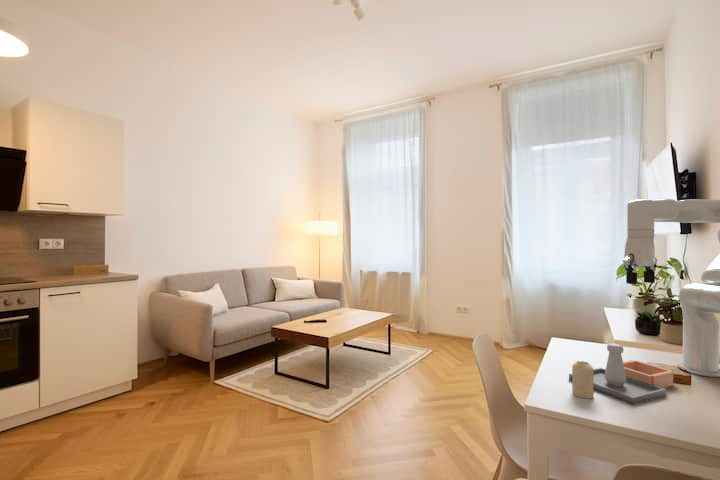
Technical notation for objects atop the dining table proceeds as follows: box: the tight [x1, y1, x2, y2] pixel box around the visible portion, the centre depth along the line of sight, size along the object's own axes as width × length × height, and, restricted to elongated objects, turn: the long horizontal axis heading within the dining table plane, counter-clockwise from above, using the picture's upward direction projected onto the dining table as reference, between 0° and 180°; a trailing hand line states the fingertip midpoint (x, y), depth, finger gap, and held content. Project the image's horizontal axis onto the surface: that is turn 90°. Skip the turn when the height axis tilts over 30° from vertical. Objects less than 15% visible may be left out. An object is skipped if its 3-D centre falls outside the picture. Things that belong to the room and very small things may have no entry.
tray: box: [568, 367, 667, 406], centre depth 115 cm, size 16×20×2 cm
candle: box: [571, 360, 595, 400], centre depth 110 cm, size 6×6×10 cm
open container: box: [623, 359, 674, 389], centre depth 121 cm, size 12×12×4 cm
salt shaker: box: [604, 342, 626, 387], centre depth 115 cm, size 6×6×13 cm
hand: (640, 283), depth 127 cm, fingers open, 9 cm apart
